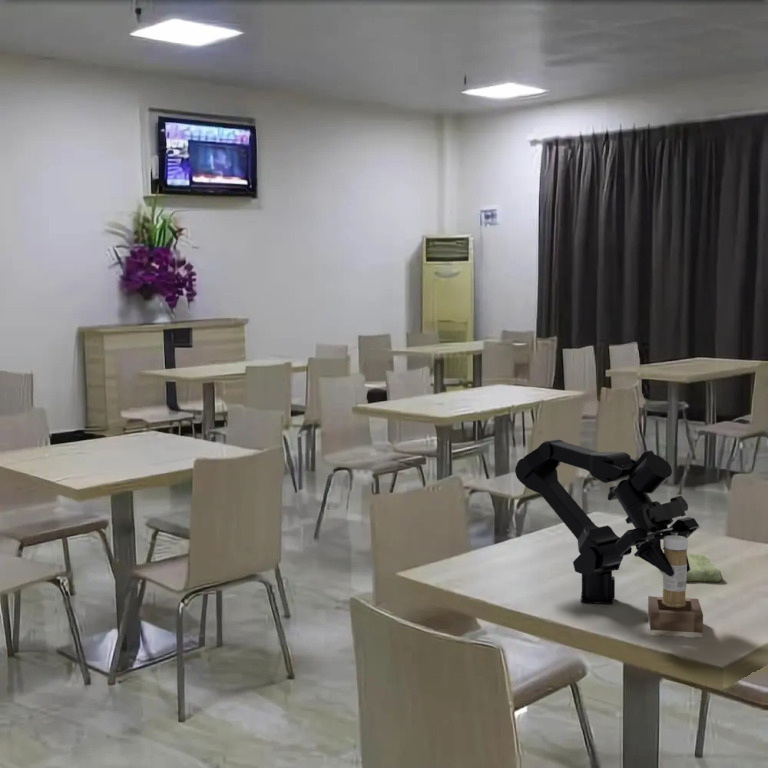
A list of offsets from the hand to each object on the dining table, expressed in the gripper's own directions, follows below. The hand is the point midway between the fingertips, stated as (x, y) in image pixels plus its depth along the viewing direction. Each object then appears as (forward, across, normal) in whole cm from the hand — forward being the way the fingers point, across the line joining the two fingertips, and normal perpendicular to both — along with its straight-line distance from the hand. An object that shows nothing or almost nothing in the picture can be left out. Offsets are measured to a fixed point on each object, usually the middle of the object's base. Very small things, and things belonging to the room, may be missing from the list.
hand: (680, 573), depth 191 cm
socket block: (+7, 0, +9) cm, 11 cm away
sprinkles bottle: (+4, 0, +6) cm, 7 cm away
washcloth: (-9, +31, +26) cm, 42 cm away
